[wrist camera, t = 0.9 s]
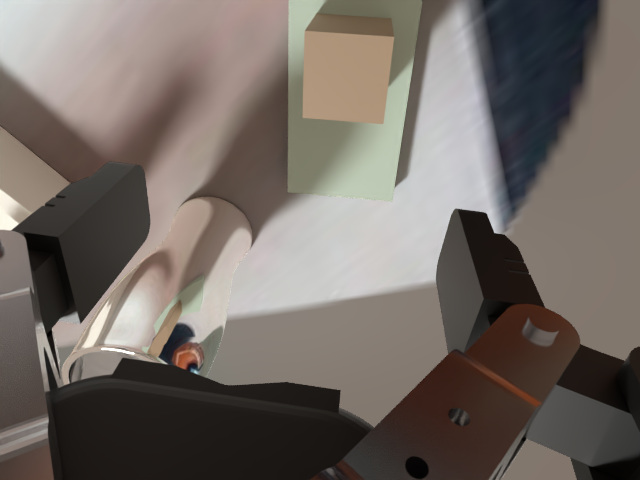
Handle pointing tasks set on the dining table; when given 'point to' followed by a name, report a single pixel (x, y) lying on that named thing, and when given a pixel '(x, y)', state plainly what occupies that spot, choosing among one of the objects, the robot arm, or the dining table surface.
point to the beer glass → (170, 297)
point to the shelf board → (348, 140)
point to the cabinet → (23, 182)
